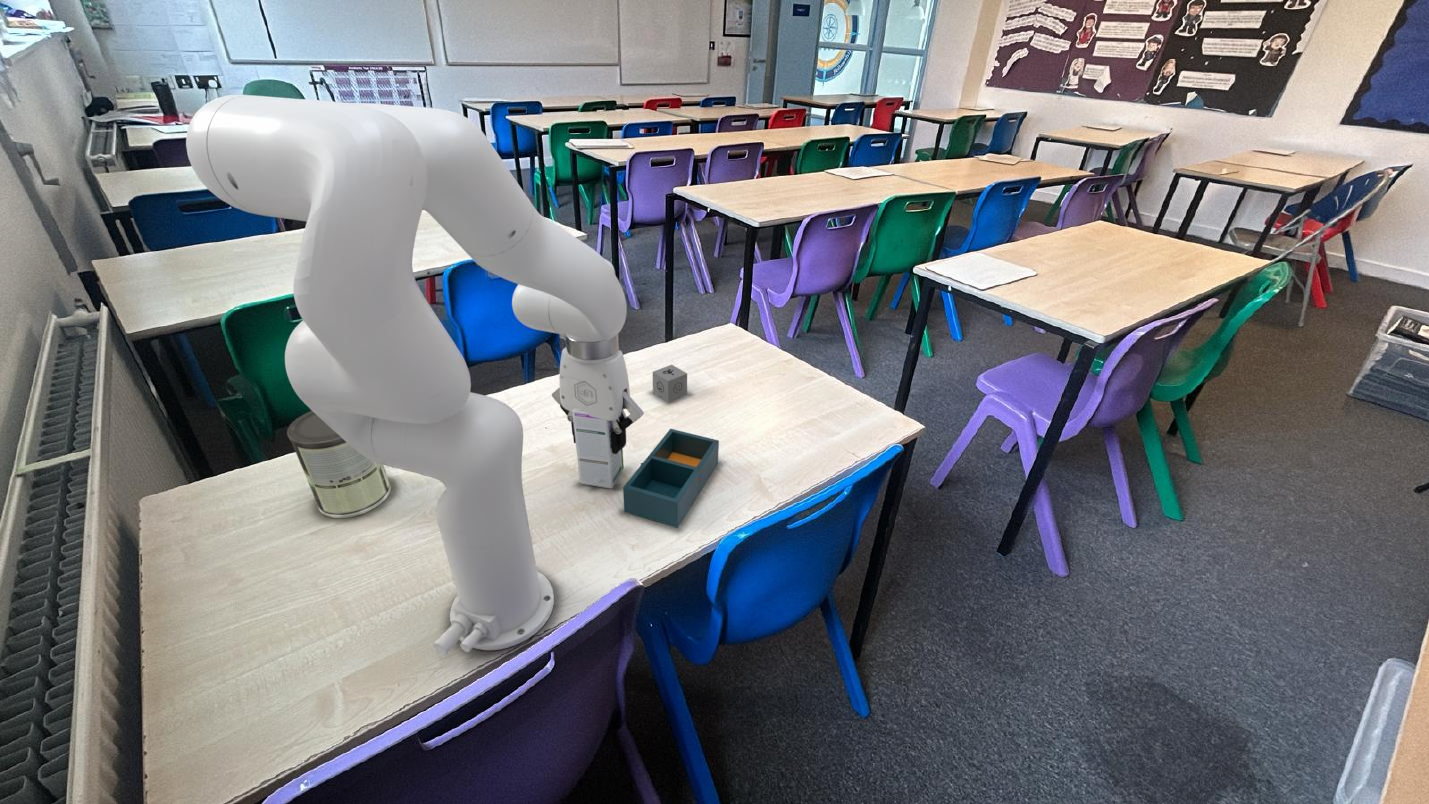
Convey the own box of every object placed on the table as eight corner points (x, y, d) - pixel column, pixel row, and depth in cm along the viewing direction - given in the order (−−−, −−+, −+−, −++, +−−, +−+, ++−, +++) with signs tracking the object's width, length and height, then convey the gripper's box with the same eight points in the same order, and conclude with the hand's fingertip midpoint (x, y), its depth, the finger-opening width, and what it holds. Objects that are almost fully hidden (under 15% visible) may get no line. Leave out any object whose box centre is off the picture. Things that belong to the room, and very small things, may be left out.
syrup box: (612, 489, 98) (608, 413, 91) (578, 484, 99) (571, 408, 92) (624, 469, 103) (621, 395, 96) (591, 463, 104) (585, 390, 97)
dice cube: (671, 385, 128) (671, 364, 126) (687, 394, 125) (687, 373, 123) (653, 392, 125) (652, 371, 123) (668, 402, 122) (667, 381, 120)
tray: (677, 528, 92) (677, 502, 89) (624, 512, 94) (622, 487, 92) (718, 463, 106) (719, 440, 103) (670, 451, 108) (670, 428, 106)
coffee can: (302, 505, 93) (270, 430, 86) (362, 469, 101) (337, 397, 94) (347, 527, 89) (318, 450, 82) (406, 488, 97) (383, 414, 90)
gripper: (527, 342, 88) (540, 444, 97) (633, 365, 83) (636, 470, 92) (556, 323, 94) (566, 421, 103) (657, 344, 89) (658, 444, 98)
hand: (599, 443), depth 98 cm, fingers closed on syrup box, 6 cm apart
